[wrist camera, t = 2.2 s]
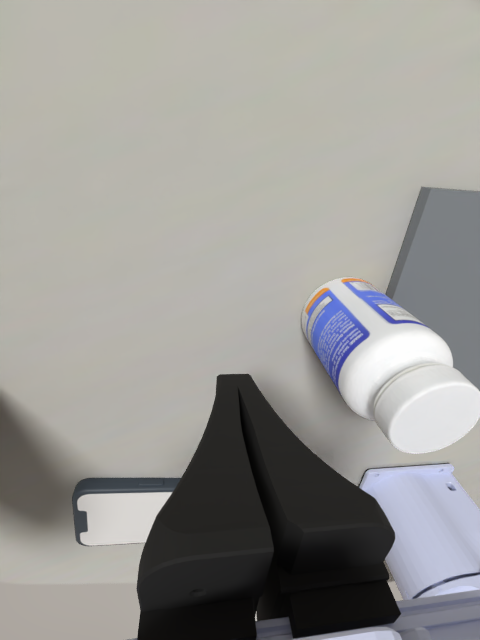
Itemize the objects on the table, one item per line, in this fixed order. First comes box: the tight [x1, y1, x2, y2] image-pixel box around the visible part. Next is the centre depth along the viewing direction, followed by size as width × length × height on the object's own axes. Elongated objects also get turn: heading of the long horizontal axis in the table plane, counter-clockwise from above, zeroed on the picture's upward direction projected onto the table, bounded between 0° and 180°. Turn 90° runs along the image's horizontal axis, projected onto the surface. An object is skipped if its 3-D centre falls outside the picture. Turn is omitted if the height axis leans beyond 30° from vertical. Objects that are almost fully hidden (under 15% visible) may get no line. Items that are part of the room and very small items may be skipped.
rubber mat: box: [386, 187, 480, 391], centre depth 22 cm, size 14×16×1 cm
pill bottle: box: [301, 277, 480, 454], centre depth 17 cm, size 5×5×10 cm
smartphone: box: [72, 478, 181, 546], centre depth 29 cm, size 9×2×16 cm
